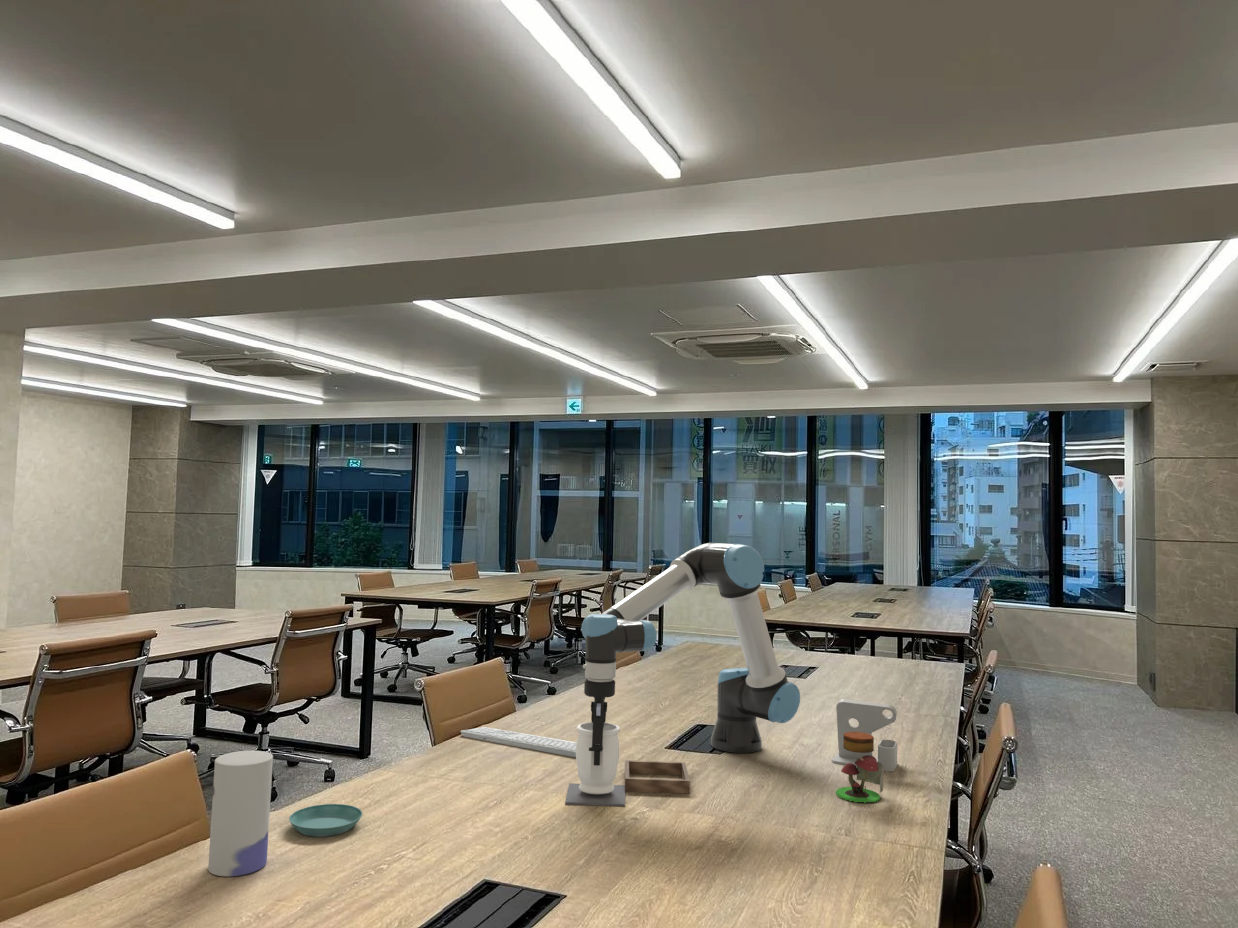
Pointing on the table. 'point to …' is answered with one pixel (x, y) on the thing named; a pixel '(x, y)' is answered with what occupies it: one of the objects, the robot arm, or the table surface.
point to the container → (240, 813)
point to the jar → (609, 758)
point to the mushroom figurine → (861, 769)
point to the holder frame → (657, 784)
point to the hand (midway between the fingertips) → (597, 771)
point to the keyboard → (523, 740)
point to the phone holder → (865, 730)
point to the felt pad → (595, 796)
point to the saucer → (325, 819)
